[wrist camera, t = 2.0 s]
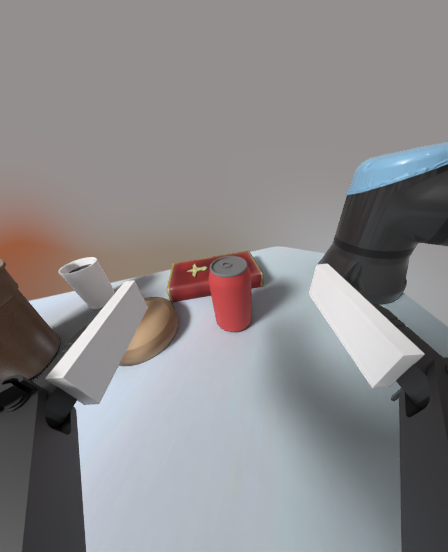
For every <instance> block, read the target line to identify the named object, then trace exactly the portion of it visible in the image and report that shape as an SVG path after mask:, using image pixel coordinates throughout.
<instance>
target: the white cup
mask: <svg viewBox="0 0 448 552" xmlns="http://www.w3.org/2000/svg"><path fill="white" fill-rule="evenodd" d="M59 274H60V275H61V276H62V277H63V278H64V279H65V280H66V282H67V283H68V284H69V285H70V286H71V287H72V288H73V289H74V290H75V291H76V293H77V294H78V295H79V296H80V297H81V298H82V299H83V300H84V301H85V302H86V303H87V305H88V306H89V307H90V308H92V309H99V308H103V307H104V306H105V305H106V304H107V302H108V301H109V300H110V299H111V298H112V296H113V295H114V294H115V291H114V289H113V288H112V286H111V284H110V282H109V280H108V279H107V277H106V275H105V273H104V271H103V270H102V268H101V266H100V264H99V263H98V261H97V259H96V258H94V257H89V258H83V259H79V260H76V261H73V262H71V263H69V264H67V265H65V266H64V267H62V268H61V269H60V270H59Z"/></svg>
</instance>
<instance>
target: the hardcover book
mask: <svg viewBox="0 0 448 552" xmlns="http://www.w3.org/2000/svg"><path fill="white" fill-rule="evenodd" d="M225 256H237V257H241V258H243V259H244V260H245V261H246V262H247V265H248V268H249V270H250V274H251V288H257V287H263V273H262V271H261V270H260V268H259V266H258V265H257V263H256V261H255V260H254V258H253V257H252V255H251V253H250V252H249V251H245V252H238V253H232V254H226V255H220V256H213V257H207V258H201V259H194V260H188V261H182V262H176V263H173V265H172V269H171V274H170V278H169V282H168V287H167V293H168V296H169V299H170V301H171V302H177V301H182V300H188V299H194V298H200V297H205V296H211V291H210V286H209V273H210V265H211V263H212V262H213V261H215V260H216V259H218V258H221V257H225Z"/></svg>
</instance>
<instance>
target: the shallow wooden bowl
mask: <svg viewBox="0 0 448 552" xmlns="http://www.w3.org/2000/svg"><path fill="white" fill-rule="evenodd" d="M144 300H145V302H146V304H147V306H148V309H147V311H146V313H145V314H144V316H143V318H142V320H141V322H140V324H139V326H138V328H137V330H136V332H135V334H134V336H133V338H132V340H131V342H130V344H129V346H128V348H127V350H126V352H125V354H124V356H123V358H122V360H121V362H120V364H119V366H132V365H137V364H140V363H143V362H145V361H147V360H149V359H151V358H153V357H155V356H156V355H157V354H159V353H160V352H161V351H163V350H164V349H165V348H166V347H167V346H168V345H169V343H170V342H171V341H172V340H173V338H174V336H175V334H176V332H177V329H178V325H179V319H178V316H177V313H176V310H175V308H174V306H173V304H172V303H171V302H170V301H169V300H167V299H164V298H160V297H150V298H144Z"/></svg>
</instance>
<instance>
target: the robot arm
mask: <svg viewBox="0 0 448 552" xmlns="http://www.w3.org/2000/svg"><path fill="white" fill-rule="evenodd" d="M346 195H347V197H346V201H345V204H344V208H343V212H342V215H341V218H340V222H339V225H338V228H337V231H336V235H335V238H334V241H333V244H332V245H331V247H330V248H329V249H328V251H327V252H326V254H325V255H324V257H323V258H322V259H321V261H320V262H319V263H318V264H317V265H316V268H315V272H314V276H313V280H312V284H311V288H310V292H309V295H310V297H311V298H312V300H313V301H314V303H315V304H316V306H317V307H318V309H319V310H320V312H321V313H322V315H323V316H324V317H325V319H326V320H327V322H328V323H329V325H330V326H331V328H332V329H333V331H334V332H335V334H336V335H337V337H338V338H339V340H340V341H341V343H342V344H343V346H344V347H345V349H346V350H347V351H348V353H349V354H350V356H351V357H352V359H353V360H354V362H355V363H356V365H357V366H358V368H359V369H360V371H361V372H362V374H363V375H364V377H365V378H366V380H367V381H368V383H369V384H370V385H371V387H372V388H384V387H390V386H391V385H392V384H393V383H394V382H396V381H397V383H398V384H399V385H400V386H401V387H402V388H401V389H400V390H399V391H397V392H396V393H395V394H394V395H393V396H392V398H391V400H392V401H395V400H397V399H398V398H399V416H400V476H401V536H402V552H448V358H443V357H442V356H441V355H439V354H438V353H437V352H436V351H435V350H433V349H432V348H431V347H430V346H429V345H428V344H427V343H425V342H424V341H423V340H422V339H421V338H420V337H419V336H417V335H416V334H415V333H414V332H413V331H412V330H411V329H409V328H408V327H406V326H405V324H404V323H403V322H401V321H400V320H398V318H397V317H396V316H394V315H393V314H392V313H391V312H390V311H389V310H387V309H385V308H384V307H382V306H380V305H378V304H386V303H390V302H393V301H395V300H397V299H398V298H399V297H400V295H401V294H402V292H403V291H404V289H405V287H406V282H407V280H406V273H407V268H408V262H409V257H410V255H411V253H412V252H413V250H414V248H415V247H416V245H417V244H418V243H428V244H435V245H443V246H448V142H445V143H439V144H434V145H429V146H423V147H419V148H414V149H409V150H404V151H399V152H395V153H390V154H386V155H382V156H378V157H374V158H371V159H368V160H366V161H364V162H363V163H362V164H361V165H360V166H359V167H358V168H357V169H356V171H355V173H354V176H353V179H352V182H351V185H350V188H349V190H348V191H347V193H346ZM147 309H148V306H147V304H146V302H145V300H144V298H143V296H142V294H141V292H140V290H139V288H138V286H137V284H136V282H135V281H125V282H124V283H123V284H122V285H121V287H120V288H119V289H118V290H117V291H116V293H115V294H114V295H113V296H112V298H111V299H110V300H109V301H108V302H107V304H106V305H105V306H104V307H103V309H102V310H101V311H100V312H99V313H98V315H97V316H96V317H95V318H94V320H93V321H92V322H91V323H90V324H89V326H88V327H84V328H83V329H82V330H81V331H79V332H78V333H77V334H76V335H75V336H74V337H73V338H72V339H71V341H70V342H69V344H68V345H66V346H65V348H64V349H63V350H62V352H60V353H59V355H58V356H57V357H56V358H55V359H54V360H53V362H52V363H51V364H50V365H49V366H48V367H47V369H46V370H45V371H44V372H43V373H42V375H41V376H40V377H39V378H38V379H37V380H36V381H35V382H32V381H30V380H29V379H27V378H25V377H24V376H22V375H19V374H18V375H12V376H10V377H8V378H5V379H3V380H1V381H0V552H86V544H85V529H84V515H83V501H82V487H81V472H80V458H79V444H78V429H77V415H76V409H75V407H73V406H74V404H75V403H76V401H77V400H78V401H79V402H81V403H82V404H84V405H89V404H99V403H100V401H101V399H102V397H103V395H104V393H105V391H106V389H107V387H108V385H109V383H110V381H111V380H112V378H113V376H114V374H115V372H116V370H117V368H118V366H119V364H120V362H121V360H122V358H123V356H124V354H125V352H126V350H127V348H128V346H129V344H130V342H131V340H132V338H133V336H134V334H135V332H136V330H137V328H138V326H139V324H140V322H141V320H142V318H143V316H144V314H145V313H146V311H147Z"/></svg>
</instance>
